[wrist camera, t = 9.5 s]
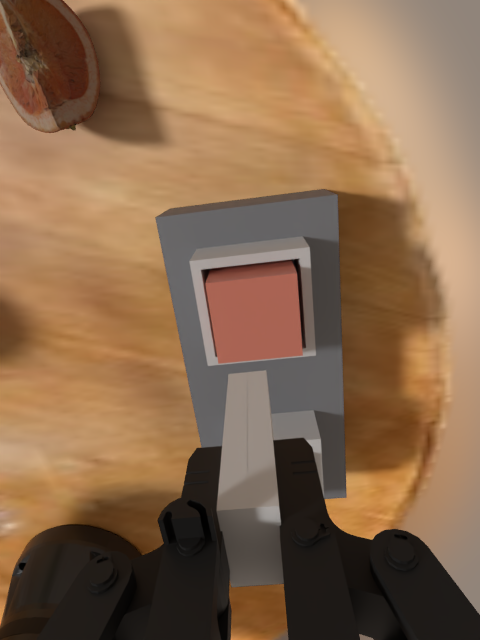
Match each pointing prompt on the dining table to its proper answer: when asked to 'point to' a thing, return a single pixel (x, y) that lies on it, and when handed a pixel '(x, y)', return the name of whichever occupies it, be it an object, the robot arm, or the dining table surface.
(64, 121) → the fruit slice
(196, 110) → the dining table surface
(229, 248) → the plug panel
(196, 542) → the robot arm
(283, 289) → the red plug
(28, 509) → the dining table surface
